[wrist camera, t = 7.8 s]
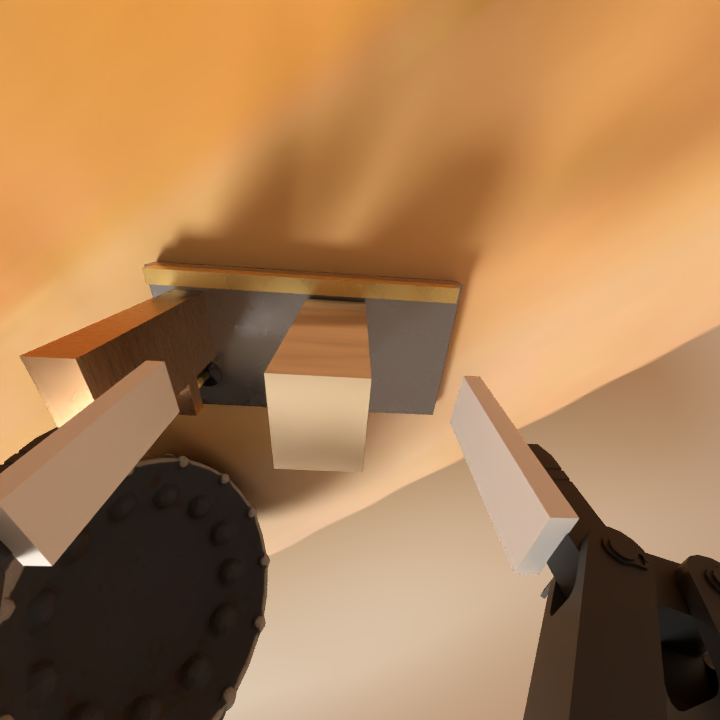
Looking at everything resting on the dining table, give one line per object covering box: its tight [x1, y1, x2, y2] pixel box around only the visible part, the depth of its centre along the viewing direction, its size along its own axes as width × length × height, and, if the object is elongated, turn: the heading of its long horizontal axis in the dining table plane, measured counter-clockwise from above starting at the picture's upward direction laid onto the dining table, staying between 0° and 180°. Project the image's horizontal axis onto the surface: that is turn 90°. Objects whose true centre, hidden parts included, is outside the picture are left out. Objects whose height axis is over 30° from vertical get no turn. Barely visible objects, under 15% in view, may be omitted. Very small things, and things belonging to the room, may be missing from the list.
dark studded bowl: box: [0, 454, 270, 720], centre depth 21 cm, size 11×20×20 cm, turn 34°
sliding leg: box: [264, 299, 371, 472], centre depth 17 cm, size 8×4×10 cm, turn 176°
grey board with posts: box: [20, 262, 462, 427], centre depth 18 cm, size 11×21×11 cm, turn 86°
